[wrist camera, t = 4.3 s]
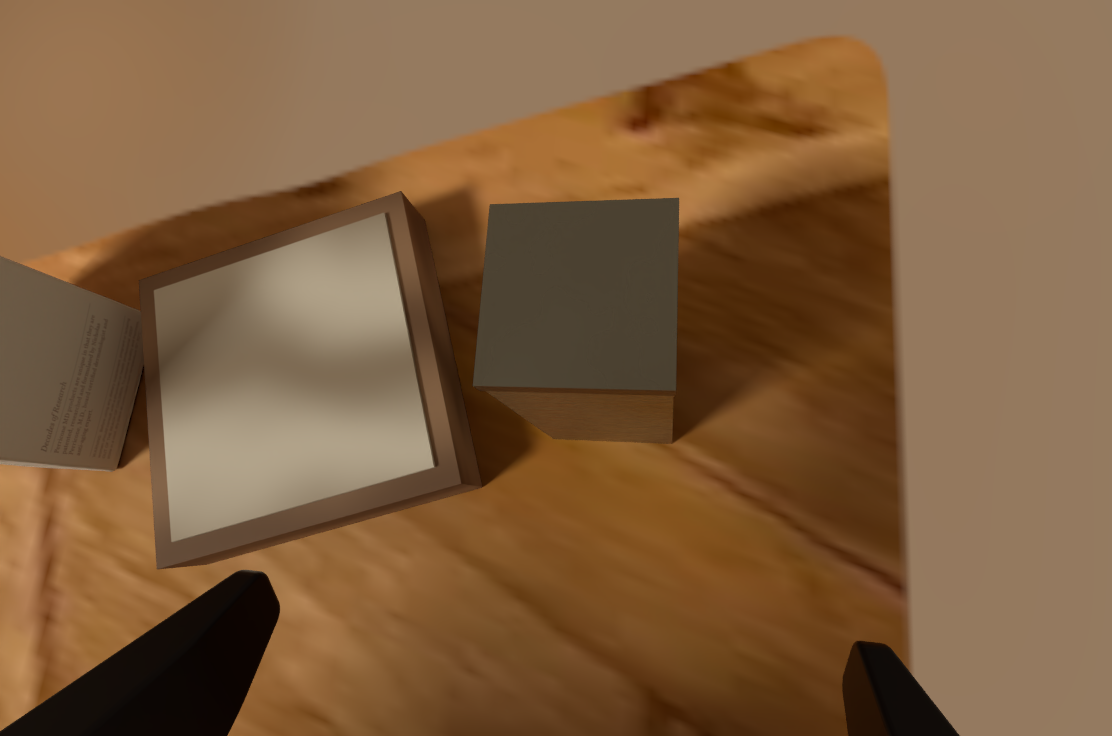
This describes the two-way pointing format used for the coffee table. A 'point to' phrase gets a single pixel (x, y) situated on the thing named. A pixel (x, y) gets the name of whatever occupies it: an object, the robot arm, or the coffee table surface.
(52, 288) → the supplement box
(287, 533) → the brown framed square mirror
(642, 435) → the olive grey square block
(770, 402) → the coffee table surface
